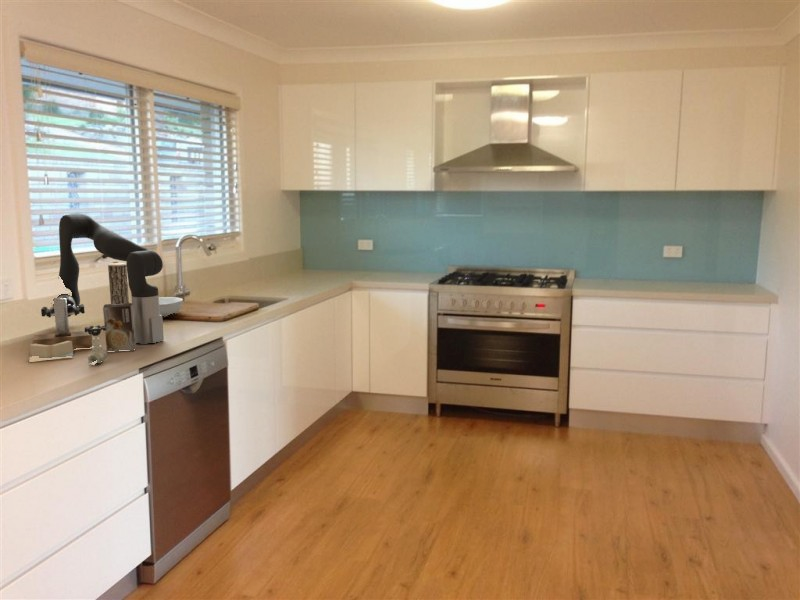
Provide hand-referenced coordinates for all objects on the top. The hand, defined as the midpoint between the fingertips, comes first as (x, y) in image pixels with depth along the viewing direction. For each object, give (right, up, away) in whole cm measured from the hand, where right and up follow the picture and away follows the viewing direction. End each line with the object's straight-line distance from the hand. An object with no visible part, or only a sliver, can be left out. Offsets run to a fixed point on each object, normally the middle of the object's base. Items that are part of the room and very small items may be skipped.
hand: (62, 313), depth 245 cm
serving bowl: (+16, -2, +52) cm, 54 cm away
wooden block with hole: (+4, -12, -6) cm, 14 cm away
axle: (+4, -12, -6) cm, 14 cm away
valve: (+24, -16, -25) cm, 38 cm away
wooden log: (+7, -5, +34) cm, 35 cm away
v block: (+5, -14, -16) cm, 22 cm away
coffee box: (+24, -13, -8) cm, 28 cm away
